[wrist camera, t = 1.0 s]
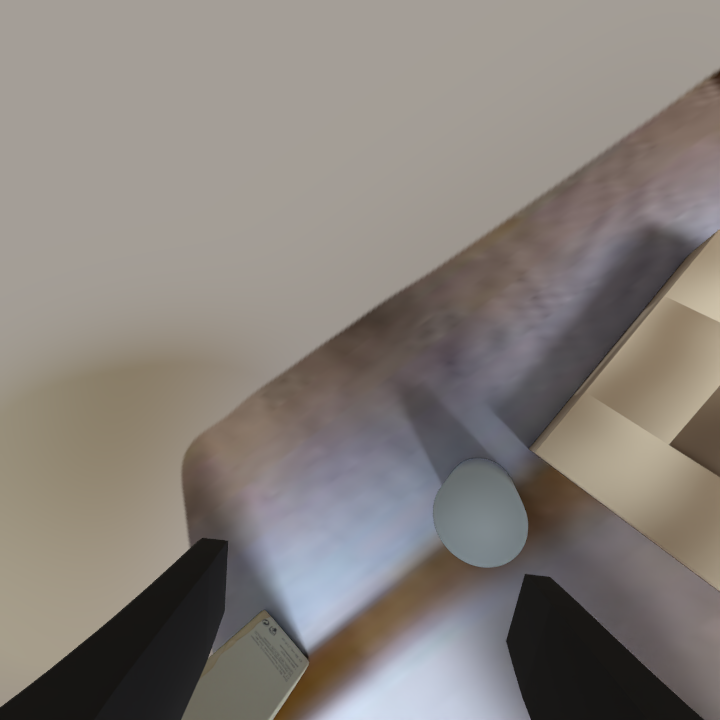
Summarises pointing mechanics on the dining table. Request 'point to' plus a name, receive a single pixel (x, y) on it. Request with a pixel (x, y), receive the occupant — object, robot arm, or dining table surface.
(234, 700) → the skincare box
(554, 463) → the socket block
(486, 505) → the peg
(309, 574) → the dining table surface
